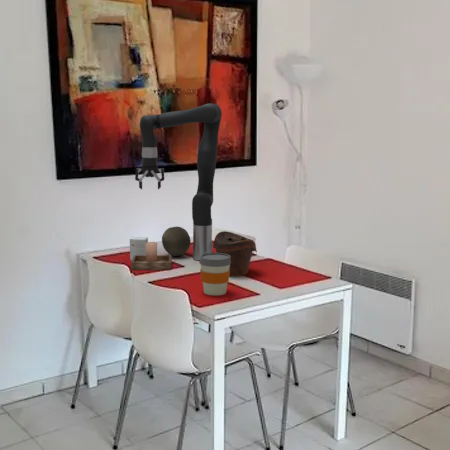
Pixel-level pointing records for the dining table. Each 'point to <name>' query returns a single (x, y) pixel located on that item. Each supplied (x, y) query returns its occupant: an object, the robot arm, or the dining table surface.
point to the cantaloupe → (176, 241)
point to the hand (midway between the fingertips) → (150, 189)
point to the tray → (151, 263)
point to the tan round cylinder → (151, 252)
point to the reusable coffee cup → (215, 272)
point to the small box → (138, 246)
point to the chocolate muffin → (235, 251)
